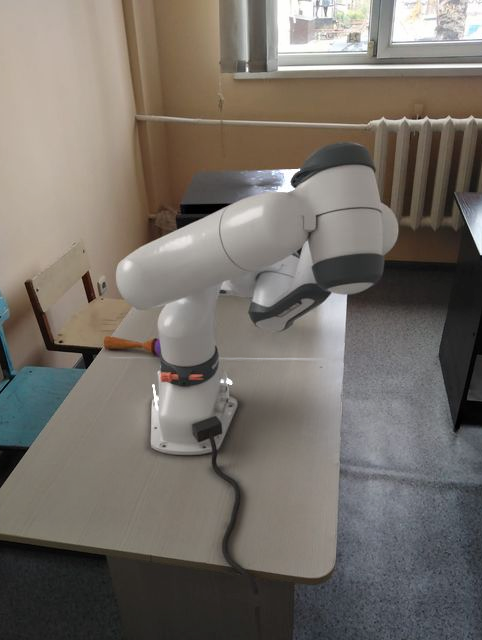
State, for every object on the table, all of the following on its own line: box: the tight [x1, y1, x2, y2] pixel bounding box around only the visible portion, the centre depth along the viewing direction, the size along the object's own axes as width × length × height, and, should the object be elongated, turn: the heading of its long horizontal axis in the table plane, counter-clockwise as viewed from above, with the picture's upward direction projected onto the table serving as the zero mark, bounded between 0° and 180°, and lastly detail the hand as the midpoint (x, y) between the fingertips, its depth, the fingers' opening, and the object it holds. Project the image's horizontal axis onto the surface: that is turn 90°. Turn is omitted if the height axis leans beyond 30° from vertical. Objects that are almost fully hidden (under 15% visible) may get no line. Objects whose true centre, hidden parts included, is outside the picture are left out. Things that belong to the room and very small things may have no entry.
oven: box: [179, 168, 300, 214], centre depth 169 cm, size 32×40×26 cm
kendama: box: [103, 335, 161, 358], centre depth 135 cm, size 6×6×20 cm
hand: (248, 295), depth 142 cm, fingers closed
